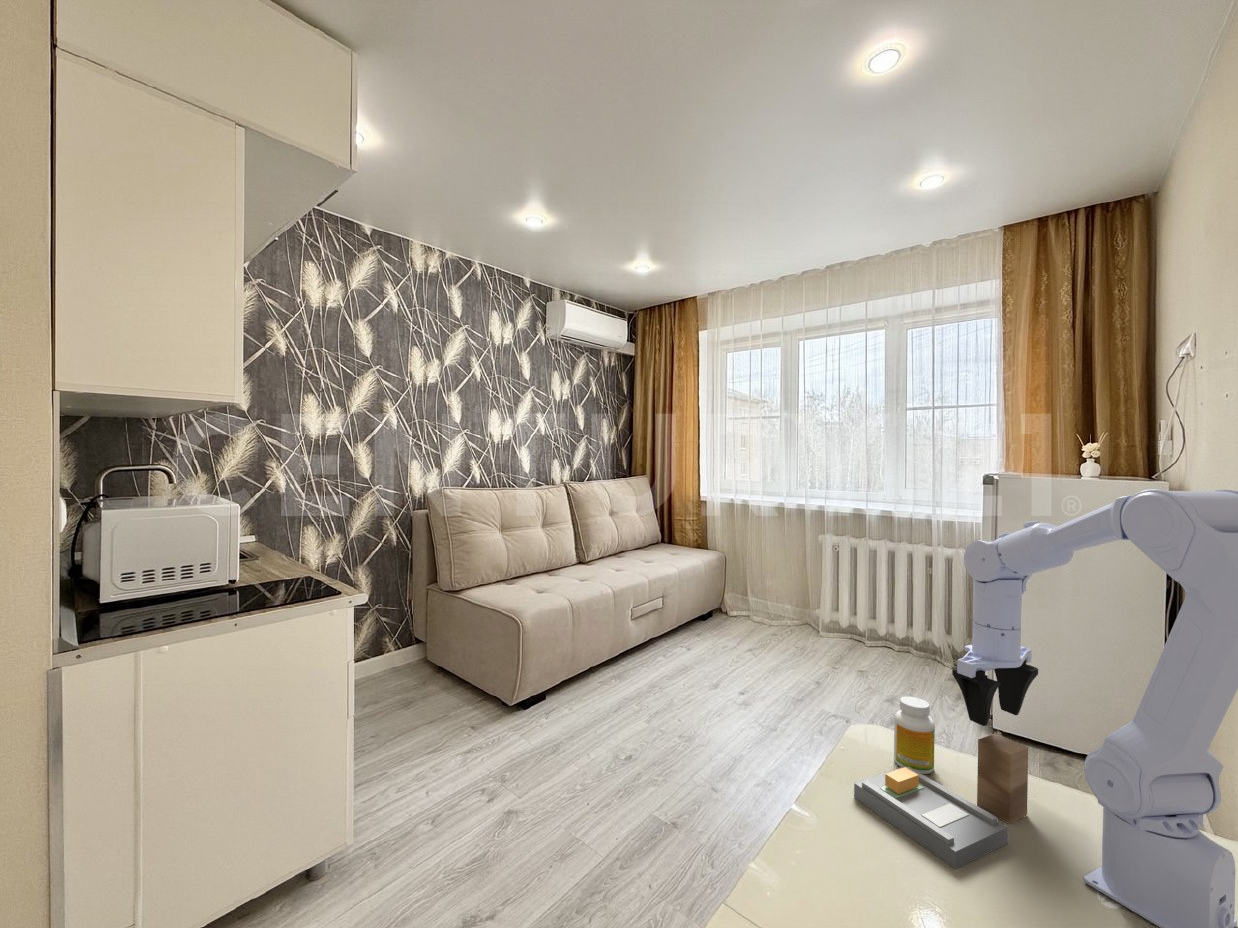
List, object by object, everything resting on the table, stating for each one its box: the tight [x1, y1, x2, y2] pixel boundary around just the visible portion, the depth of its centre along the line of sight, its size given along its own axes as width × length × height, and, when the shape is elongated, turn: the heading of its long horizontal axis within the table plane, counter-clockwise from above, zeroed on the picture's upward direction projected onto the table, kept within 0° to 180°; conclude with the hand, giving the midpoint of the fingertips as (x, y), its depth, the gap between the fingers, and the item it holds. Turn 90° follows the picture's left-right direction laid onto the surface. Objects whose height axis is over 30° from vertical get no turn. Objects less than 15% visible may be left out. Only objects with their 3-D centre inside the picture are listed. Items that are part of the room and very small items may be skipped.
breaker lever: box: [885, 767, 919, 794], centre depth 72 cm, size 2×4×2 cm, turn 115°
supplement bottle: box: [893, 696, 936, 775], centre depth 81 cm, size 5×5×10 cm
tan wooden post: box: [976, 733, 1029, 825], centre depth 71 cm, size 4×4×9 cm
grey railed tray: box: [853, 766, 1009, 870], centre depth 69 cm, size 14×10×3 cm
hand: (994, 717), depth 77 cm, fingers open, 7 cm apart
